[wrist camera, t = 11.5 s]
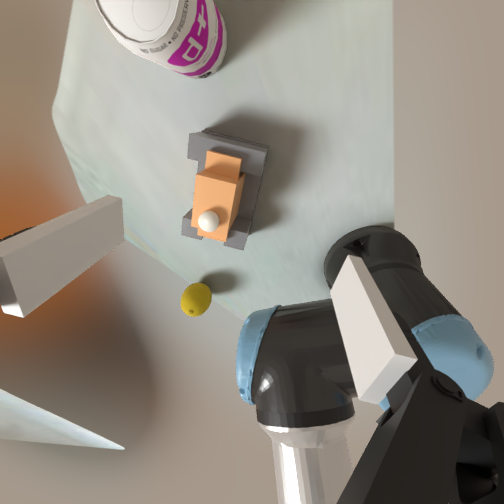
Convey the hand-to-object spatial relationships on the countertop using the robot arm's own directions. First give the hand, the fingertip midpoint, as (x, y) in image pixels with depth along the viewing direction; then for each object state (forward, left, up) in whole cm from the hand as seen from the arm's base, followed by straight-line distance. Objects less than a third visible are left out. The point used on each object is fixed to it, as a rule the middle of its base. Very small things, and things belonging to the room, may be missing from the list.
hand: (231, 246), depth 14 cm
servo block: (+5, +5, -26) cm, 27 cm away
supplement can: (+12, -13, -27) cm, 32 cm away
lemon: (+7, +26, -27) cm, 38 cm away
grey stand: (+5, +5, -27) cm, 28 cm away
